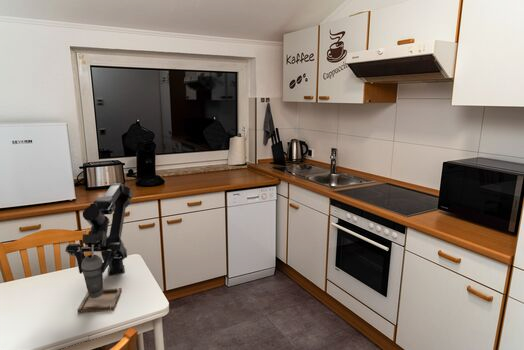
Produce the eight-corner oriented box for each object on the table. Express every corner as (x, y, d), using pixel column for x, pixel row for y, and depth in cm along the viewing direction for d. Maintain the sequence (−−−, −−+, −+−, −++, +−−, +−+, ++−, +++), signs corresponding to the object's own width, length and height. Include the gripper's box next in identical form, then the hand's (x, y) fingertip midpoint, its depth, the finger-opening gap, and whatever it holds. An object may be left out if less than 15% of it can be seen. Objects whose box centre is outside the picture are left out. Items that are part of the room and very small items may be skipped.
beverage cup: (93, 287, 134) (87, 238, 128) (111, 290, 132) (105, 240, 127) (80, 299, 127) (72, 247, 121) (98, 301, 125) (91, 250, 120)
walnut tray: (88, 293, 136) (88, 290, 136) (121, 291, 138) (121, 288, 138) (77, 313, 125) (77, 309, 124) (114, 310, 126) (113, 306, 126)
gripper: (64, 223, 125) (53, 267, 118) (118, 222, 127) (112, 265, 119) (76, 234, 135) (67, 276, 127) (126, 233, 137) (121, 274, 129)
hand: (91, 273), depth 126 cm, fingers closed on beverage cup, 7 cm apart
